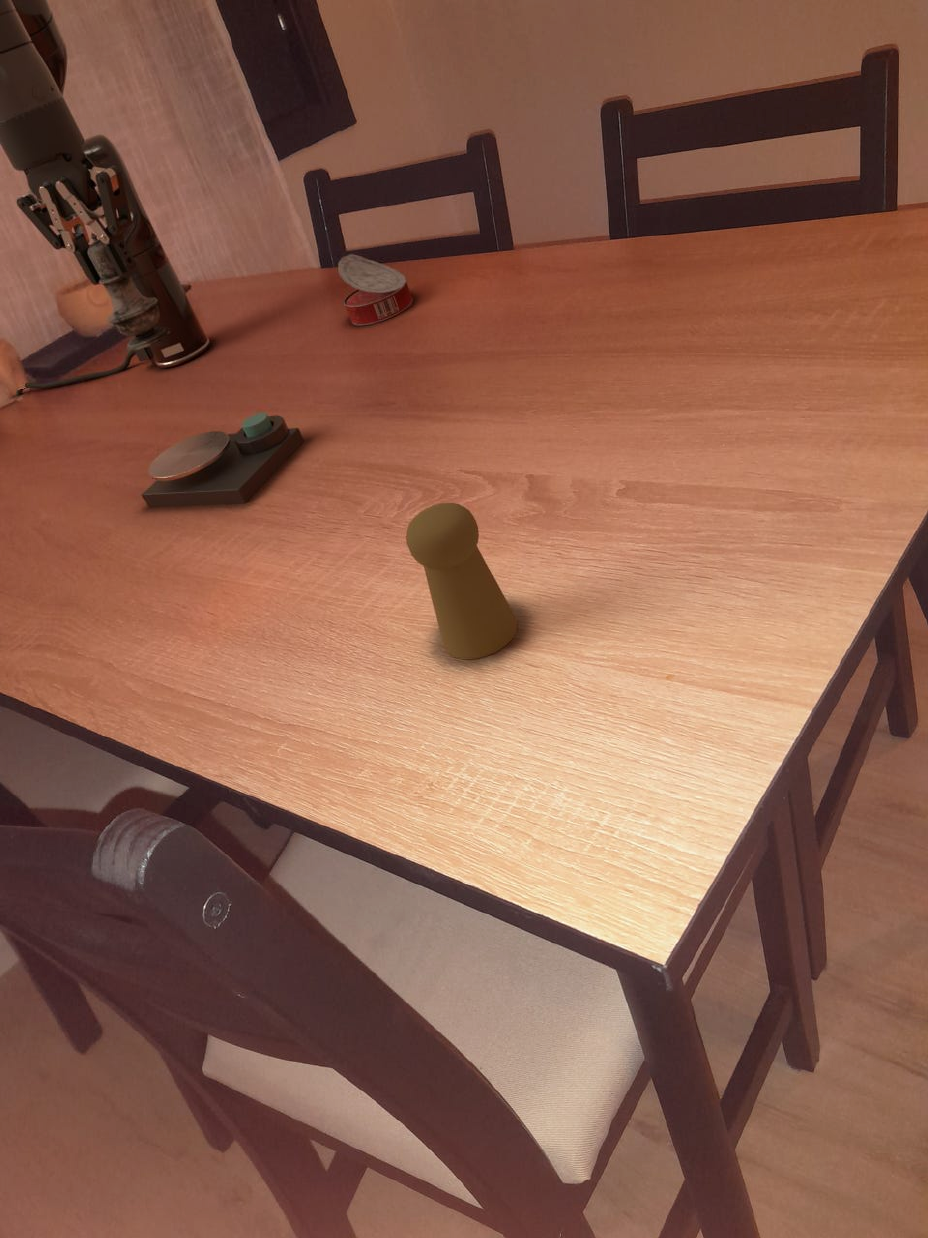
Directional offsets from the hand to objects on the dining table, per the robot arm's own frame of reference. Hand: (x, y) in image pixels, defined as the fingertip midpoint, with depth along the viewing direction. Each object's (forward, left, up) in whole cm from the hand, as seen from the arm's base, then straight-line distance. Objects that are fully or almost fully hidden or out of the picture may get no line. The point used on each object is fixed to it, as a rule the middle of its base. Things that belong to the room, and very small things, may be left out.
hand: (115, 277), depth 102 cm
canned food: (+2, +43, -24) cm, 49 cm away
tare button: (+8, +2, -20) cm, 22 cm away
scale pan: (+1, -4, -20) cm, 21 cm away
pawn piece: (+49, -28, -24) cm, 61 cm away
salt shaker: (0, 0, -7) cm, 7 cm away
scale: (+4, -2, -23) cm, 24 cm away
